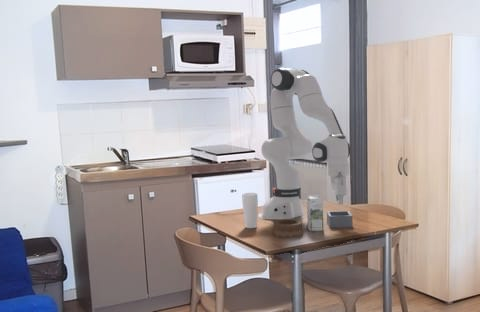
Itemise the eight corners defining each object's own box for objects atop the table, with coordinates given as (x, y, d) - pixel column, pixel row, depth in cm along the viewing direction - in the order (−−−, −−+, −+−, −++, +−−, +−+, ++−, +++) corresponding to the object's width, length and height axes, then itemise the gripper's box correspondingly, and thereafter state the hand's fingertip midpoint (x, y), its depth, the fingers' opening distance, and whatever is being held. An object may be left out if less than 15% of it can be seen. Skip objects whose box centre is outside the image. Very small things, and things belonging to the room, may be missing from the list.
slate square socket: (329, 227, 219) (329, 216, 218) (327, 222, 228) (326, 211, 228) (352, 227, 218) (352, 215, 218) (349, 221, 228) (348, 210, 227)
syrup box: (320, 227, 219) (319, 194, 218) (323, 231, 213) (323, 197, 212) (307, 228, 219) (306, 195, 217) (310, 232, 213) (309, 198, 211)
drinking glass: (247, 230, 221) (245, 196, 220) (241, 226, 227) (239, 193, 226) (261, 227, 224) (259, 194, 222) (254, 224, 230) (253, 192, 228)
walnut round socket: (274, 238, 206) (273, 226, 206) (274, 230, 218) (273, 219, 217) (303, 237, 206) (303, 225, 205) (301, 229, 217) (301, 218, 217)
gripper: (349, 174, 210) (350, 207, 212) (342, 168, 230) (343, 198, 232) (334, 174, 211) (335, 207, 212) (328, 168, 231) (329, 198, 232)
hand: (339, 202), depth 222 cm, fingers open, 6 cm apart
